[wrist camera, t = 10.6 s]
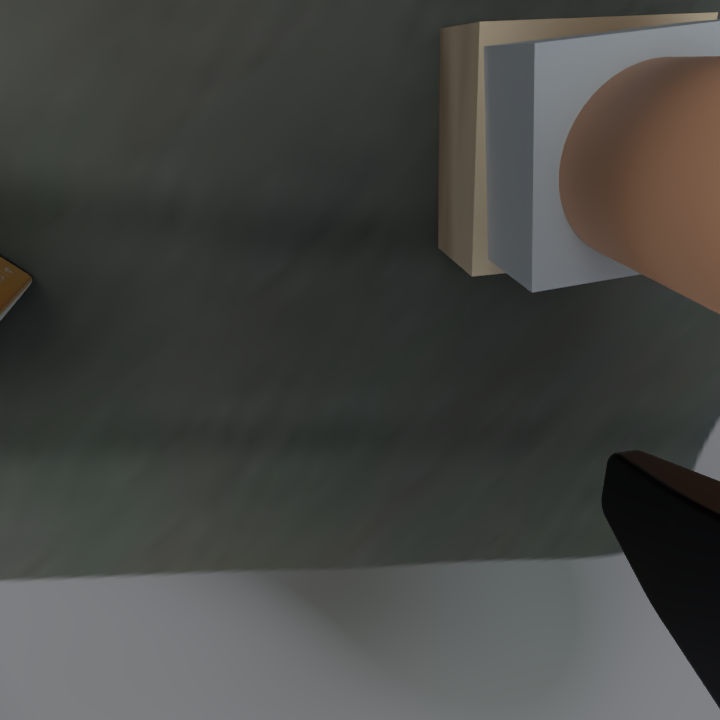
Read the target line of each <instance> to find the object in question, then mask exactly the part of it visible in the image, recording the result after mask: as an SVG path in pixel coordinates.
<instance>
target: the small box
mask: <svg viewBox="0 0 720 720" xmlns="http://www.w3.org/2000/svg"><path fill="white" fill-rule="evenodd" d="M31 283H32V278H31V277H30V276H29V275H28V274H27V273H25V272H24V271H22V270H21V269H19V268H17V267H16V266H14V265H13V264H11V263H10V262H8V261H6V260H5V259H3V258H2V257H0V321H1V320H2V318H3V317H4V316H5V315H6V314H7V312H8V311H9V310H10V309H11V308H12V306H13V305H14V304H15V303H16V302H17V300H18V299H19V298H20V297H21V296H22V294H23V293H24V292H25V291H26V289H27V288H28V287H29V286H30V284H31Z"/></svg>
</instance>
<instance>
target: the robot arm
mask: <svg viewBox="0 0 720 720" xmlns="http://www.w3.org/2000/svg"><path fill="white" fill-rule="evenodd" d="M602 509H603V512H604V515H605V517H606V519H607V521H608V523H609V525H610V527H611V529H612V531H613V533H614V535H615V537H616V538H617V540H618V542H619V544H620V546H621V548H622V550H623V552H624V554H625V556H626V558H627V560H628V561H629V563H630V565H631V567H632V569H633V571H634V573H635V575H636V577H637V578H638V581H639V582H640V584H641V586H642V588H643V590H644V592H645V593H646V595H647V597H648V599H649V601H650V603H651V604H652V606H653V607H654V609H655V611H656V612H657V614H658V615H659V617H660V619H661V620H662V622H663V623H664V625H665V626H666V628H667V629H668V630H669V632H670V634H671V635H672V637H673V638H674V640H675V641H676V643H677V645H678V646H679V648H680V649H681V651H682V652H683V653H684V655H685V656H686V658H687V660H688V661H689V663H690V664H691V666H692V667H693V669H694V670H695V672H696V673H697V675H698V676H699V678H700V679H701V681H702V682H703V684H704V685H705V687H706V689H707V690H708V691H709V693H710V695H711V696H712V698H713V699H714V701H715V702H716V704H717V705H718V707H719V708H720V481H717V480H715V479H712V478H710V477H707V476H704V475H702V474H699V473H697V472H694V471H691V470H689V469H686V468H684V467H681V466H679V465H676V464H673V463H671V462H668V461H666V460H663V459H660V458H658V457H655V456H653V455H650V454H647V453H645V452H642V451H638V450H633V451H626V452H618V453H614V454H612V455H611V456H610V457H609V459H608V462H607V467H606V474H605V480H604V486H603V492H602Z"/></svg>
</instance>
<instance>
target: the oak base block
mask: <svg viewBox="0 0 720 720" xmlns="http://www.w3.org/2000/svg"><path fill="white" fill-rule="evenodd" d="M717 16H718V12H715V13H689V14H664V15H638V16H612V17H586V18H561V19H535V20H509V21H484V22H475V23H469V24H463V25H457V26H452V27H446V28H440V95H439V210H438V248H439V249H440V250H441V251H442V252H444V253H445V254H446V255H447V256H448V257H449V258H451V259H452V260H453V261H454V262H455V263H456V264H458V265H459V266H460V267H461V268H462V269H463V270H465V271H466V272H467V273H468V274H469V275H470V276H472V277H473V276H483V275H493V274H502V273H505V272H504V271H503V270H501V269H500V268H499V267H497V266H496V265H495V264H493V263H492V262H491V261H490V260H488V233H487V186H486V139H485V92H484V46H490V45H498V44H507V43H515V42H524V41H532V40H540V39H549V38H557V37H565V36H574V35H582V34H591V33H599V32H607V31H616V30H624V29H632V28H641V27H649V26H658V25H666V24H674V23H683V22H693V21H704V20H716V19H717Z"/></svg>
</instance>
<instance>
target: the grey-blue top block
mask: <svg viewBox="0 0 720 720" xmlns="http://www.w3.org/2000/svg"><path fill="white" fill-rule="evenodd" d="M695 56H720V19H716V20H704V21H693V22H683V23H674V24H666V25H658V26H649V27H641V28H632V29H624V30H616V31H607V32H599V33H591V34H582V35H574V36H565V37H557V38H549V39H540V40H532V41H524V42H515V43H507V44H498V45H490V46H484V92H485V139H486V186H487V233H488V260H490V261H491V262H492V263H493V264H495V265H496V266H497V267H499V268H500V269H501V270H503V271H504V272H505V273H507V274H508V275H509V276H511V277H512V278H513V279H515V280H516V281H517V282H519V283H520V284H521V285H522V286H524V287H525V288H526V289H528V290H529V291H530V292H532V293H533V292H539V291H545V290H551V289H556V288H562V287H568V286H574V285H580V284H586V283H592V282H598V281H604V280H610V279H616V278H622V277H627V276H633V275H639V274H640V273H638V272H636V271H634V270H632V269H630V268H629V267H627V266H625V265H623V264H621V263H619V262H617V261H615V260H613V259H611V258H609V257H607V256H605V255H603V254H601V253H599V252H597V251H596V250H594V249H592V248H591V247H589V246H588V245H587V244H586V243H584V242H583V241H582V240H581V239H580V238H579V237H578V236H577V234H576V233H575V232H574V231H573V229H572V227H571V226H570V224H569V222H568V221H567V218H566V216H565V213H564V211H563V207H562V203H561V200H560V192H559V168H560V160H561V156H562V152H563V148H564V144H565V142H566V139H567V136H568V133H569V131H570V129H571V127H572V125H573V123H574V121H575V119H576V117H577V116H578V114H579V113H580V111H581V110H582V108H583V106H584V105H585V104H586V103H587V101H588V100H589V99H590V98H591V96H592V95H593V94H594V93H595V92H596V91H597V90H598V89H599V88H600V87H601V86H602V85H603V84H604V83H606V82H607V81H608V80H609V79H611V78H612V77H613V76H614V75H616V74H618V73H619V72H621V71H623V70H624V69H626V68H628V67H630V66H632V65H634V64H637V63H639V62H642V61H645V60H649V59H653V58H660V57H695Z"/></svg>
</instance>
